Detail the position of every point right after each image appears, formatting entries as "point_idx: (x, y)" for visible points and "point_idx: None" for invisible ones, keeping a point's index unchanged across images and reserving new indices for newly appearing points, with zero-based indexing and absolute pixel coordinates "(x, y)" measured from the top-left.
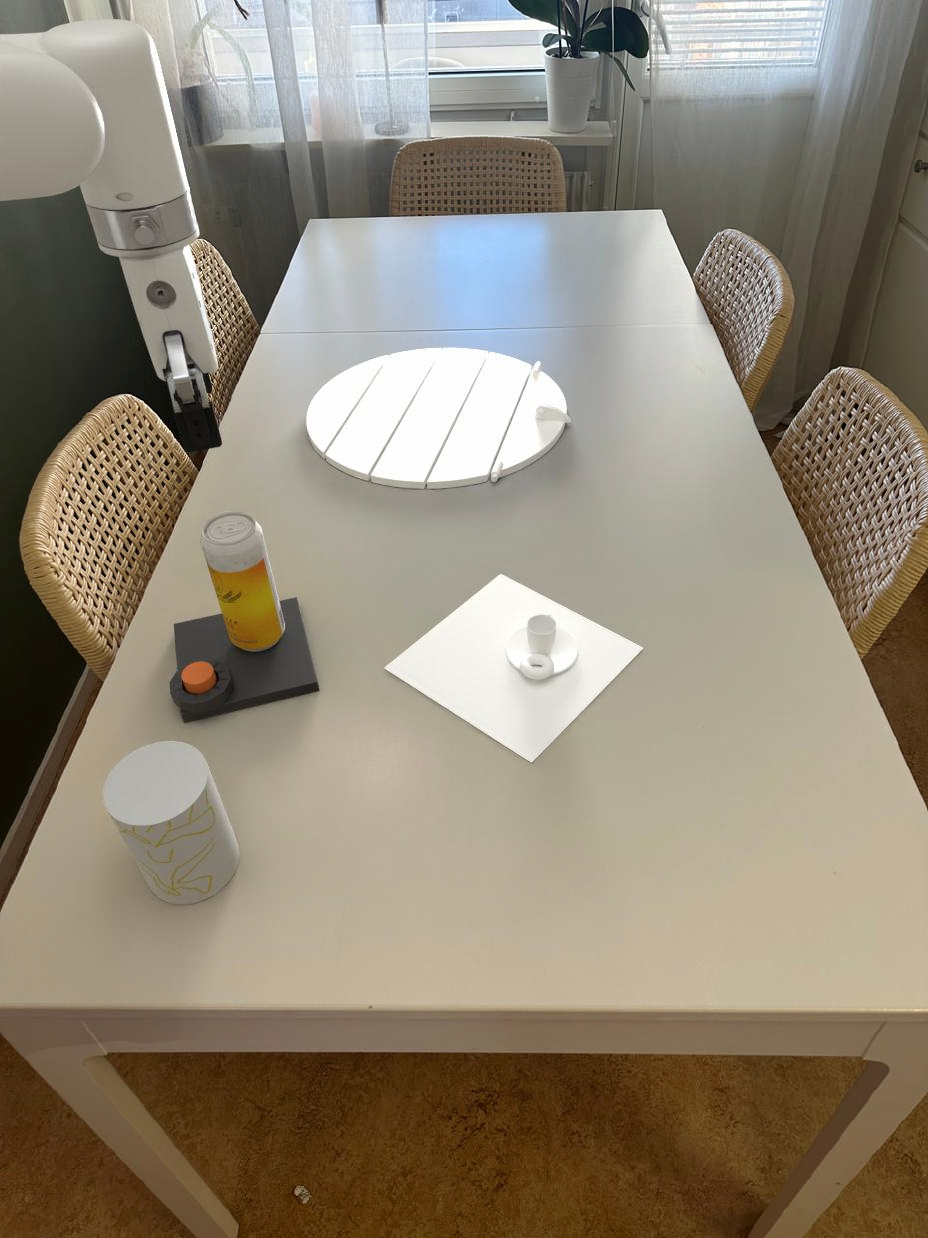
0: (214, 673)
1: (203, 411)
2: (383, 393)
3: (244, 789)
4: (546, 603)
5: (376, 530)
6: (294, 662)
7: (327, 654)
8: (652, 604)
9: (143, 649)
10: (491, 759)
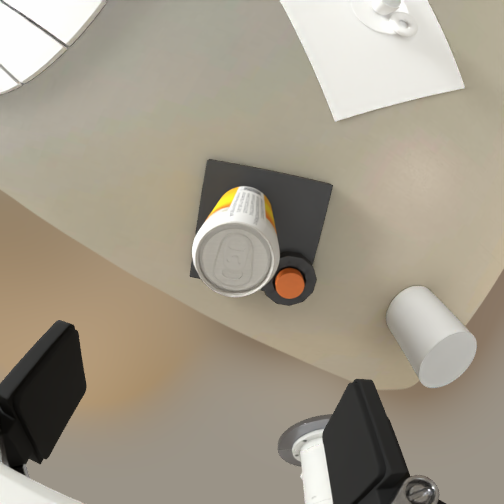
0: (294, 271)
1: (403, 477)
2: None
3: (385, 270)
4: None
5: (138, 54)
6: (298, 194)
7: (290, 158)
8: None
9: (200, 300)
10: (452, 106)
